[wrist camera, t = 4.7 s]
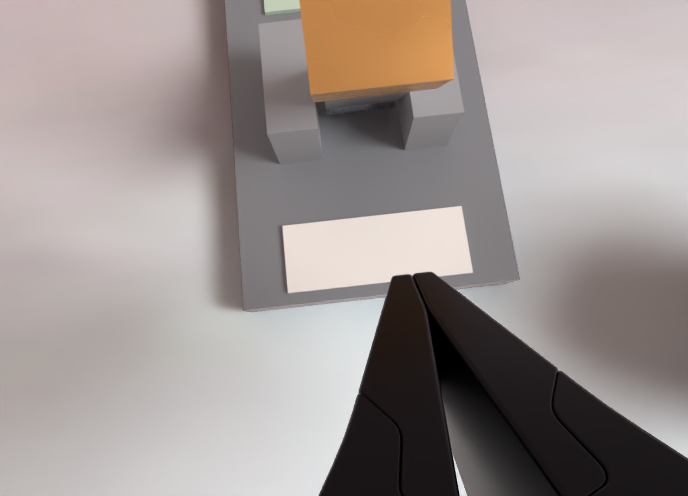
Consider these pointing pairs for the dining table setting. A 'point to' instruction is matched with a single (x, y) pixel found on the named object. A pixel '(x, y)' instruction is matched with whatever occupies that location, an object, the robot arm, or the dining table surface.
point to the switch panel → (357, 175)
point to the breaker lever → (375, 50)
